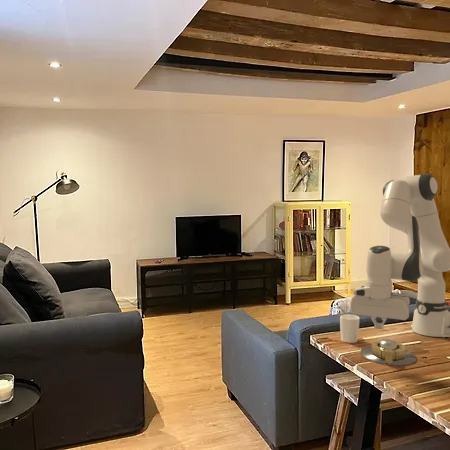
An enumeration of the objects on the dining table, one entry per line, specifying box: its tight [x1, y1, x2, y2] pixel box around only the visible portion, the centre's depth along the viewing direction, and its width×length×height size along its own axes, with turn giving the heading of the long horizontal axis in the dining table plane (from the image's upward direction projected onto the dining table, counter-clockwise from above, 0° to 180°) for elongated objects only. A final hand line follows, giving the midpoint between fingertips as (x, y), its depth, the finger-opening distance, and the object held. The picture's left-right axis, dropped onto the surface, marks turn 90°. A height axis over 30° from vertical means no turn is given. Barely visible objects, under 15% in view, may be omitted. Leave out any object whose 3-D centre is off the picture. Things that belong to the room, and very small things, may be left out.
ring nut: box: [371, 339, 407, 363], centre depth 174 cm, size 16×12×4 cm
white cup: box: [339, 313, 360, 344], centre depth 193 cm, size 8×8×10 cm
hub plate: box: [360, 338, 417, 367], centre depth 176 cm, size 20×20×5 cm
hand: (378, 328), depth 169 cm, fingers closed
